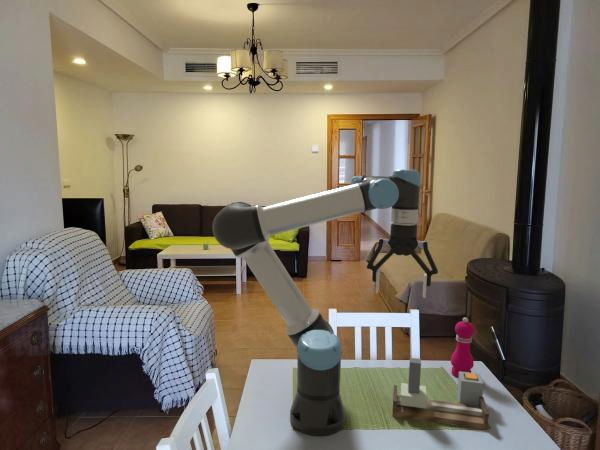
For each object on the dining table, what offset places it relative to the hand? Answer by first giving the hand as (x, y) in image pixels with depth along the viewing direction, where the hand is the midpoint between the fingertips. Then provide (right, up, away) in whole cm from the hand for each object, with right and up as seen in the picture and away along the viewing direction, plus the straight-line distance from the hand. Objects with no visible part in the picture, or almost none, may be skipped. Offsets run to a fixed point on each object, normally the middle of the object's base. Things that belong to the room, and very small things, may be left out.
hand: (400, 294), depth 130 cm
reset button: (+21, -30, 0) cm, 36 cm away
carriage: (+3, -30, -4) cm, 30 cm away
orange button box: (+21, -32, +1) cm, 38 cm away
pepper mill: (+25, -30, +18) cm, 43 cm away
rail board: (+9, -33, -6) cm, 35 cm away
